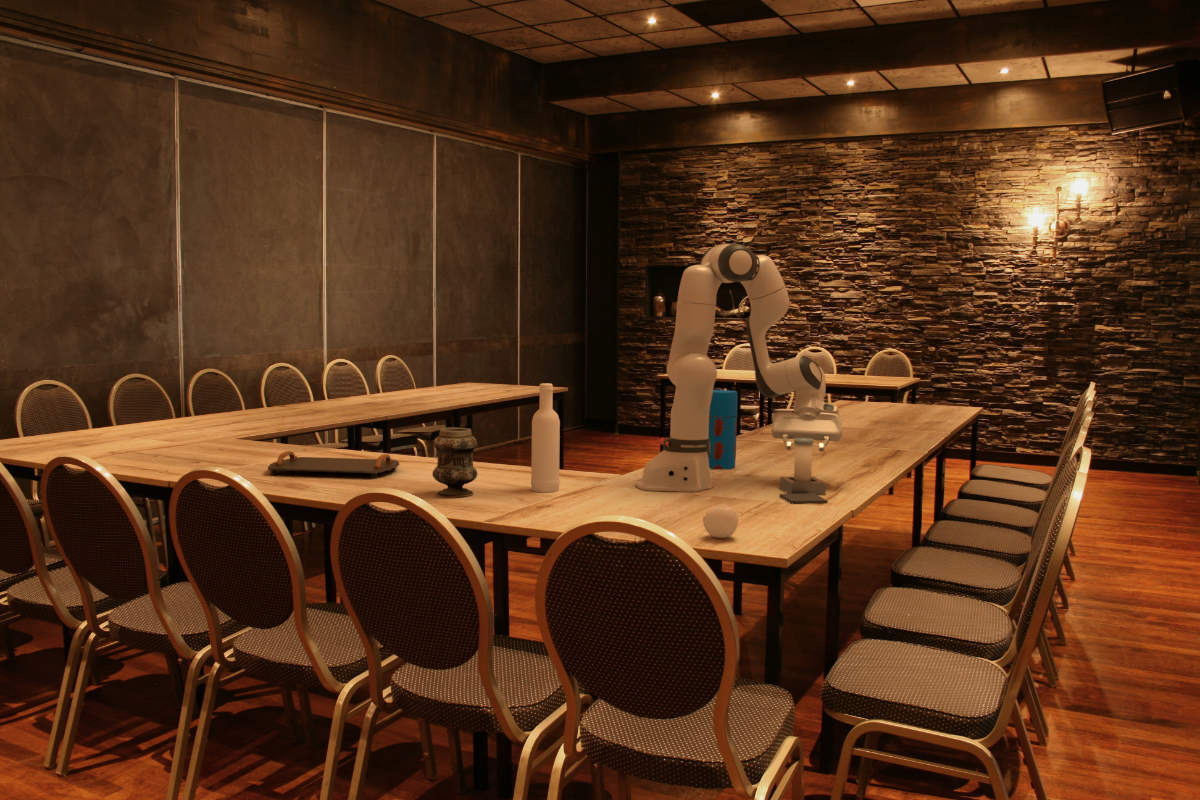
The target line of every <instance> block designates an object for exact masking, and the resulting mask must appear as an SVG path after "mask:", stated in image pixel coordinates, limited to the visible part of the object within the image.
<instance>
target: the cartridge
mask: <svg viewBox="0 0 1200 800" xmlns="http://www.w3.org/2000/svg"><path fill="white" fill-rule="evenodd" d="M814 441H815V440H814V439H812V438H794V439H793V444H794V464H793V465H794V467H793V468H794V469H793V471H794V472H793V477H794V481H795V482H811V477H812V470H813V469H812V467H813V464H812V463H813V459H812V458H813V445H814Z"/></svg>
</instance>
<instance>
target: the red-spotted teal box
mask: <svg viewBox="0 0 1200 800" xmlns="http://www.w3.org/2000/svg"><path fill="white" fill-rule="evenodd" d="M737 426H738V391H737V390H729V389H725V390H724V389H713V394H712V399H711V404H710V411H709V435H708V438H709V439H710V455H709V468H713V469H712V470H715V469H729V470H733V469H732V468H734V469H735V468H736V460H737V459H736V458H737V457H736V456H737V431H738V430H737V429H738V427H737Z"/></svg>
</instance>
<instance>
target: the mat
mask: <svg viewBox="0 0 1200 800" xmlns="http://www.w3.org/2000/svg"><path fill="white" fill-rule="evenodd" d="M779 498H781V499H782V498H783V499H782V500H784V499H785V500H784V501H785V502H787V501H788V502H787V503H789V502H790V503H789V504H791V505H797V504H798V505H804V504H803V503H827V504H828V500H827V499H825V498H823V497H822V496H821V495H816V494H788V493H779ZM792 503H793V504H792Z"/></svg>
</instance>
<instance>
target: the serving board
mask: <svg viewBox="0 0 1200 800" xmlns="http://www.w3.org/2000/svg"><path fill="white" fill-rule="evenodd" d="M288 456H289V458H286V457H288ZM284 458H285V459H284ZM399 466H400V462H399V460H396V459H393V458H392V457H391V456H390V454H389V453H384V454H381V455H379V456H378V458H377V459H375V458H355V457H353V458H350V457H349V458H347V457H316V456H315V457H314V456H297V455H296V454H295V453H294V452H293V451H290V450H287V451H284V452H281V453H280V454H279V455H278V457H277V460H276V461H274V462H272V463H271V464H270V463H269V465H268V466H267V470H268V471H270V472H269V475H270V476H278V474H279V472H278V471H283V472H284V471H289V472H291V471H292V472H314V473H315V472H317V473H320V472H321V473H346V474H347V473H351V474H352V473H353V474H354V473H355V474H370V476H369V478H370V479H374V480H377V479H378V477H379V476H378V474H379V473H384V472H387V471H391V470H395V469H396V468H398V467H399Z"/></svg>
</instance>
